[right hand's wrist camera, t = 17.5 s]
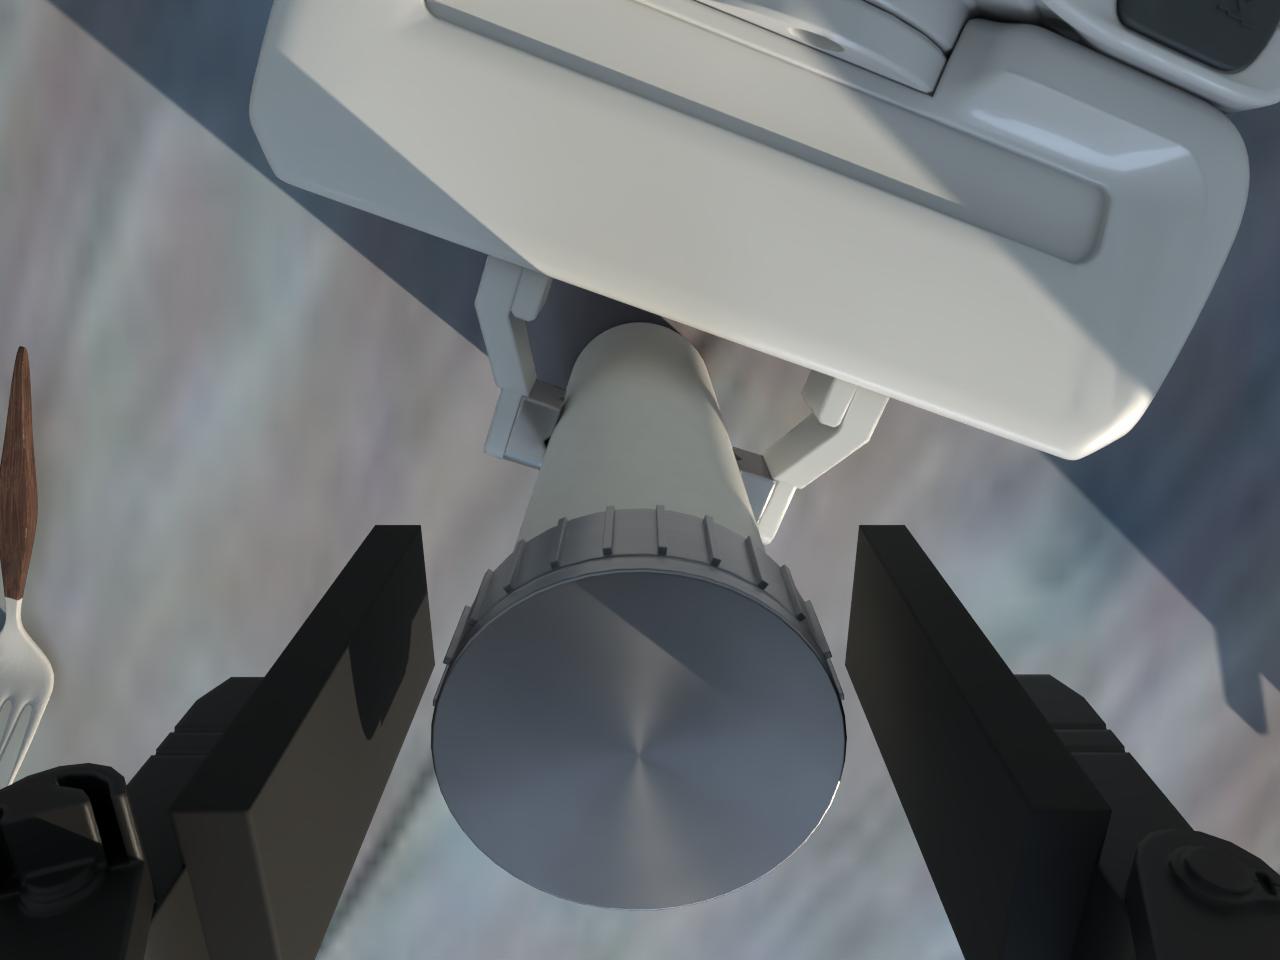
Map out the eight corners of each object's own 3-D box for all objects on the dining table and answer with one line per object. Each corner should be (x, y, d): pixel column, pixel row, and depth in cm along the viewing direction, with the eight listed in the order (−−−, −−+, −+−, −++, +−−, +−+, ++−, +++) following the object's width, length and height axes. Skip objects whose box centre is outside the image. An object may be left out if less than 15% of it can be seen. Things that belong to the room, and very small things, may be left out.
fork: (76, 355, 26) (33, 370, 24) (52, 751, 32) (15, 788, 30) (-9, 331, 26) (-59, 344, 24) (-20, 735, 32) (-62, 771, 30)
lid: (439, 790, 13) (408, 888, 11) (474, 471, 11) (443, 529, 9) (775, 836, 13) (795, 938, 12) (864, 533, 11) (904, 601, 10)
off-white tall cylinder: (641, 291, 26) (643, 498, 10) (739, 394, 27) (881, 727, 11) (539, 390, 27) (395, 720, 11) (638, 485, 28) (634, 906, 12)
